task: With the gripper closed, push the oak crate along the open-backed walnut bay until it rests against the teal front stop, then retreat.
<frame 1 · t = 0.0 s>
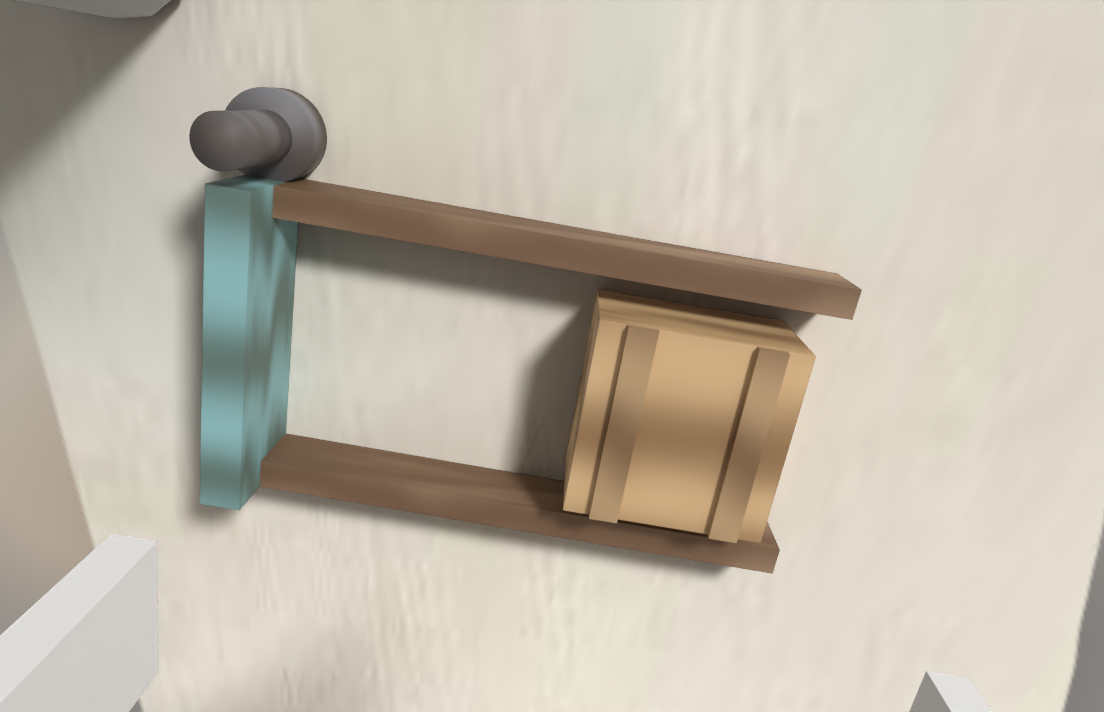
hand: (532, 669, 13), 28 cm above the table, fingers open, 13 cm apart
crate: (670, 390, 41), on the table
bay: (545, 370, 41), on the table
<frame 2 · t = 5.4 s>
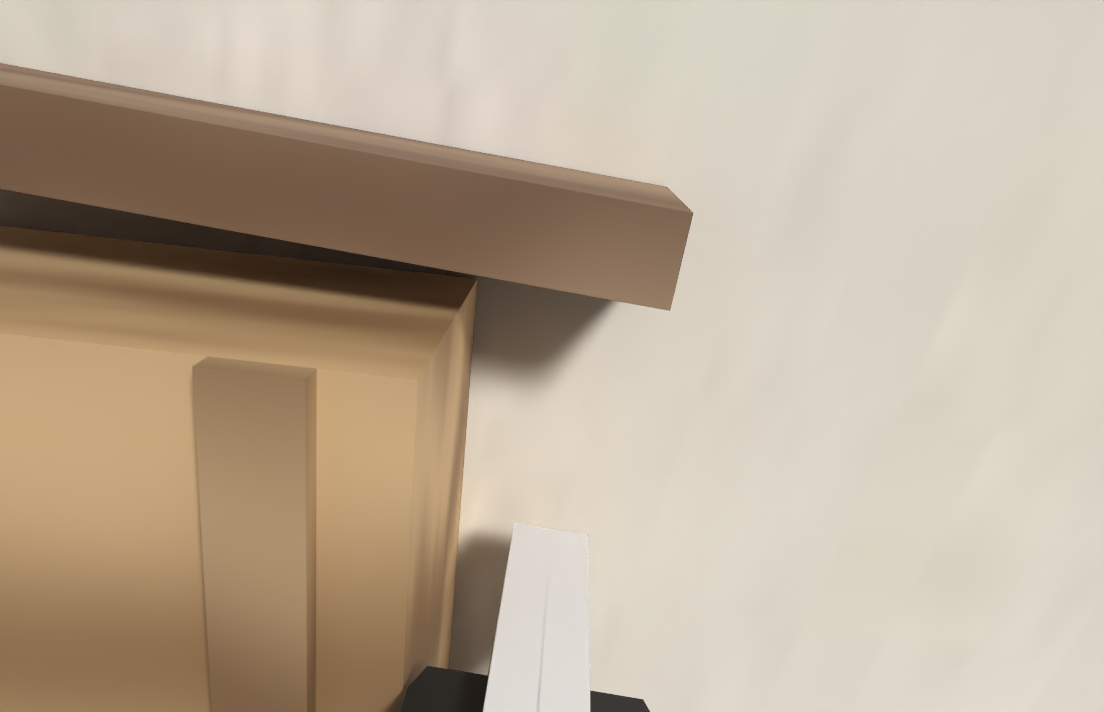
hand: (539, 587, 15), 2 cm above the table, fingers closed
crate: (242, 467, 17), on the table, touching gripper
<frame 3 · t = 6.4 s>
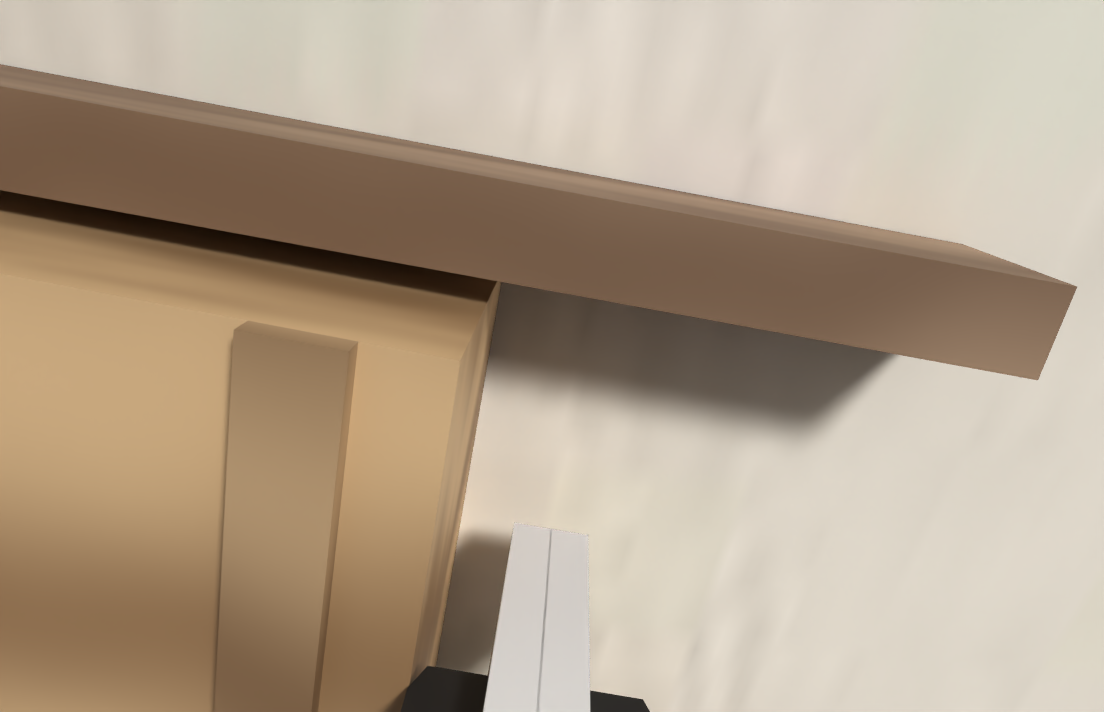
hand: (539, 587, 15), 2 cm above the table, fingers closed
crate: (246, 438, 17), on the table, touching gripper
bay: (224, 481, 17), on the table
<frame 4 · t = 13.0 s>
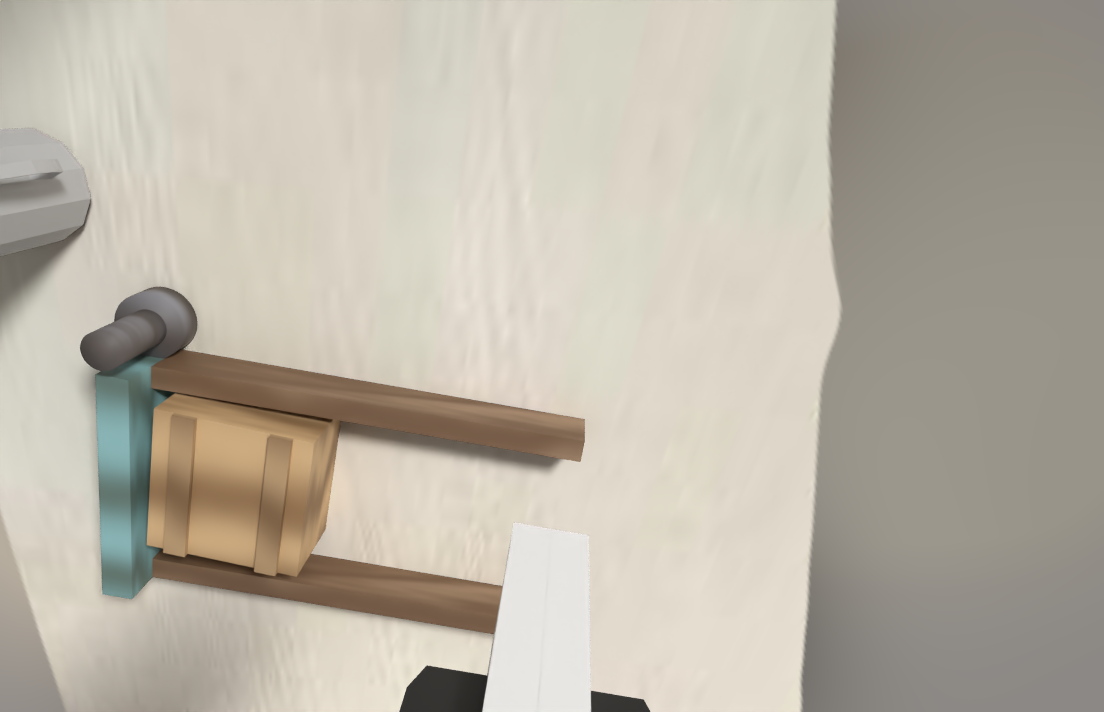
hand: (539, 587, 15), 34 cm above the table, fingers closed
crate: (265, 454, 53), on the table
water bottle: (57, 180, 47), on the table
bay: (372, 486, 53), on the table
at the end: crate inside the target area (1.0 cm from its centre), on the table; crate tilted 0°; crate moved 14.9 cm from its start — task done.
